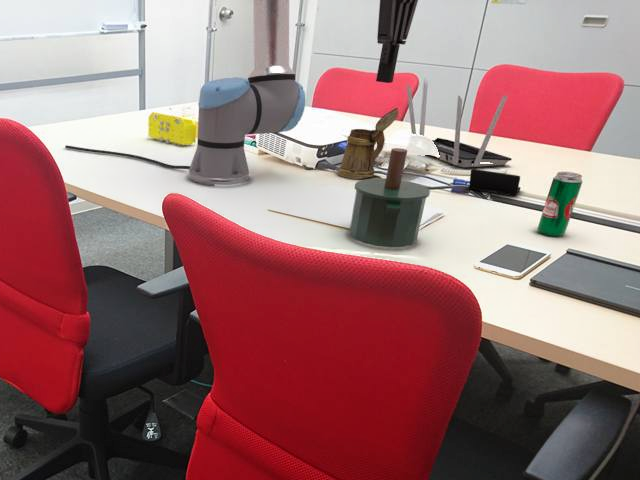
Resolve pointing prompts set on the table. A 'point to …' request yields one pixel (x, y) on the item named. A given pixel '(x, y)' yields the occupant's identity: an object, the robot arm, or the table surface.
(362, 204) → the tin
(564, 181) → the soda can
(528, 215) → the table surface
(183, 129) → the yellow toy chassis
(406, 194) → the lid
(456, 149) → the wireless router
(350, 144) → the wooden mug
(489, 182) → the black box
